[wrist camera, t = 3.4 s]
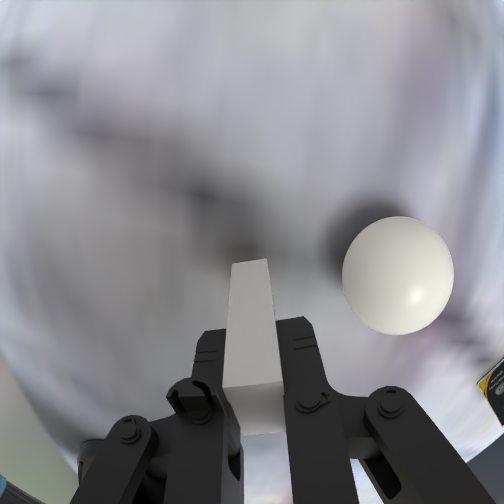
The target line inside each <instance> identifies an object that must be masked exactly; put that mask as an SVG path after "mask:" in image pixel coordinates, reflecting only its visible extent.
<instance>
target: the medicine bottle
mask: <svg viewBox="0 0 504 504" xmlns="http://www.w3.org/2000/svg"><path fill="white" fill-rule="evenodd" d="M478 387H479V389H480V390H481V392H482V394H483V395H484V397H485V398H486V400H487V402H488V403H489V405H490V407H491V408H492V410H493V412H494V414H495V415H496V417H497V419H498V421H499V422H500V424H501V426H502V428H503V429H504V358H503V359H502V360H501V361H500V362H499V363H498V364H497V365H496V366H495V367H494V368H493V369H492V370H491V371H490V372H489V373H488V374H487V375H486V376H484V377H483V378H482V379H481V380H480V381H479V382H478Z"/></svg>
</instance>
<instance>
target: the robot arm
mask: <svg viewBox="0 0 504 504" xmlns="http://www.w3.org/2000/svg"><path fill="white" fill-rule="evenodd" d="M166 398H167V400H168V401H169V403H170V404H171V406H172V407H173V409H174V411H175V412H176V413H175V414H174V415H171V416H169V417H166V418H163V419H159V420H155V421H152V422H148V421H147V420H146V419H145V418H143V417H141V416H137V415H130V416H126V417H123V418H122V419H120V420H118V421H117V422H116V423H115V425H114V426H113V427H112V429H111V430H110V432H109V434H108V435H107V437H106V439H105V441H103V440H90V441H86V442H84V443H83V444H82V445H81V448H80V452H79V455H78V458H77V464H78V479H79V487H78V489H77V491H76V493H75V494H74V496H73V498H72V500H71V502H70V504H244V454H243V448H242V445H241V443H240V431H241V433H242V435H243V436H250V435H261V434H270V433H279V432H286V434H287V444H288V453H289V463H290V473H291V484H292V494H293V504H359V500H358V495H357V490H356V486H355V481H354V476H353V472H352V467H351V463H350V458H351V459H358V460H359V462H360V464H361V465H362V467H363V469H364V470H365V472H366V474H367V476H368V477H369V479H370V481H371V482H372V484H373V486H374V487H375V489H376V491H377V493H378V494H379V496H380V498H381V499H382V501H383V503H384V504H496V503H495V502H494V500H493V499H492V497H491V496H490V495H489V493H488V492H487V491H486V489H485V488H484V487H483V485H482V484H481V483H480V481H479V480H478V479H477V477H476V476H475V475H474V474H473V473H472V471H471V469H470V468H469V467H468V466H467V464H466V463H465V462H464V460H463V459H462V458H461V456H460V455H459V454H458V453H457V451H456V450H455V449H454V447H453V446H452V445H451V444H450V442H449V441H448V440H447V439H446V437H445V436H444V435H443V434H442V432H441V431H440V430H439V429H438V427H437V426H436V425H435V424H434V422H433V421H432V420H431V419H430V417H429V416H428V415H427V414H426V412H425V411H424V410H423V409H422V407H421V406H420V405H419V404H418V403H417V401H416V400H415V399H414V398H413V396H412V395H411V394H410V393H409V392H407V391H406V390H405V389H403V388H400V387H397V386H385V387H382V388H379V389H377V390H376V391H374V392H373V393H372V394H370V396H369V397H356V396H347V395H343V394H341V393H338V392H337V391H335V390H334V389H333V388H332V387H331V386H330V385H329V383H328V381H327V378H326V375H325V371H324V367H323V363H322V359H321V356H320V352H319V348H318V345H317V341H316V338H315V334H314V330H313V326H312V324H311V323H310V322H309V321H308V320H307V319H306V318H305V317H304V316H302V317H296V318H290V319H284V320H278V321H276V314H275V307H274V301H273V295H272V288H271V282H270V276H269V270H268V264H267V258H265V259H259V260H252V261H246V262H240V263H233V264H232V268H231V280H230V292H229V304H228V316H227V329H219V330H210V331H205V332H204V333H203V334H202V336H201V337H200V339H199V340H198V342H197V347H196V355H195V359H194V364H193V370H192V376H191V377H190V378H185V379H183V380H181V381H179V382H177V383H175V384H174V385H173V386H172V387H171V388H170V389H169V391H168V393H167V396H166ZM0 504H45V503H43V502H41V501H40V500H38V499H36V498H34V497H32V496H31V495H29V494H27V493H26V492H24V491H23V490H21V489H19V488H18V487H16V486H14V485H13V484H11V483H10V482H8V481H7V480H6V478H5V477H4V476H2V475H0Z"/></svg>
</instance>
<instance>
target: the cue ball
mask: <svg viewBox="0 0 504 504" xmlns="http://www.w3.org/2000/svg"><path fill="white" fill-rule="evenodd" d="M453 279H454V270H453V263H452V259H451V255H450V252H449V250H448V248H447V246H446V244H445V242H444V241H443V239H442V238H441V236H440V235H439V234H438V233H437V232H436V231H435V230H434V229H433V228H431V227H430V226H429V225H427V224H425V223H424V222H422V221H419V220H417V219H414V218H410V217H403V216H394V217H388V218H384V219H381V220H378V221H376V222H374V223H372V224H370V225H369V226H367V227H366V228H365V229H363V230H362V231H361V232H360V233H359V234H358V235H357V236H356V238H355V239H354V240H353V242H352V243H351V245H350V247H349V249H348V251H347V253H346V256H345V259H344V263H343V268H342V285H343V291H344V295H345V297H346V300H347V302H348V305H349V306H350V308H351V310H352V311H353V313H354V314H355V315H356V316H357V317H358V319H359V320H360V321H361V322H363V323H364V324H365V325H367V326H368V327H370V328H371V329H373V330H376V331H378V332H381V333H385V334H390V335H403V334H409V333H412V332H415V331H418V330H420V329H422V328H424V327H426V326H427V325H429V324H430V323H431V322H432V321H434V320H435V319H436V318H437V317H438V315H439V314H440V313H441V312H442V310H443V309H444V307H445V305H446V303H447V301H448V299H449V297H450V294H451V291H452V286H453Z"/></svg>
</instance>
